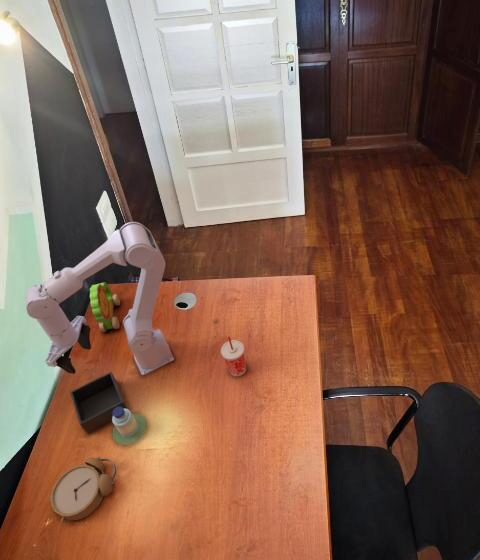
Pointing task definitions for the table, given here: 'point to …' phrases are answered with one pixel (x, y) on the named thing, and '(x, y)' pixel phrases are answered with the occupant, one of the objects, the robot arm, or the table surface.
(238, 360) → the beverage cup
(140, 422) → the coaster
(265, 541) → the table surface
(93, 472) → the alarm clock
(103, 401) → the bin
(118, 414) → the bottle
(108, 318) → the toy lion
